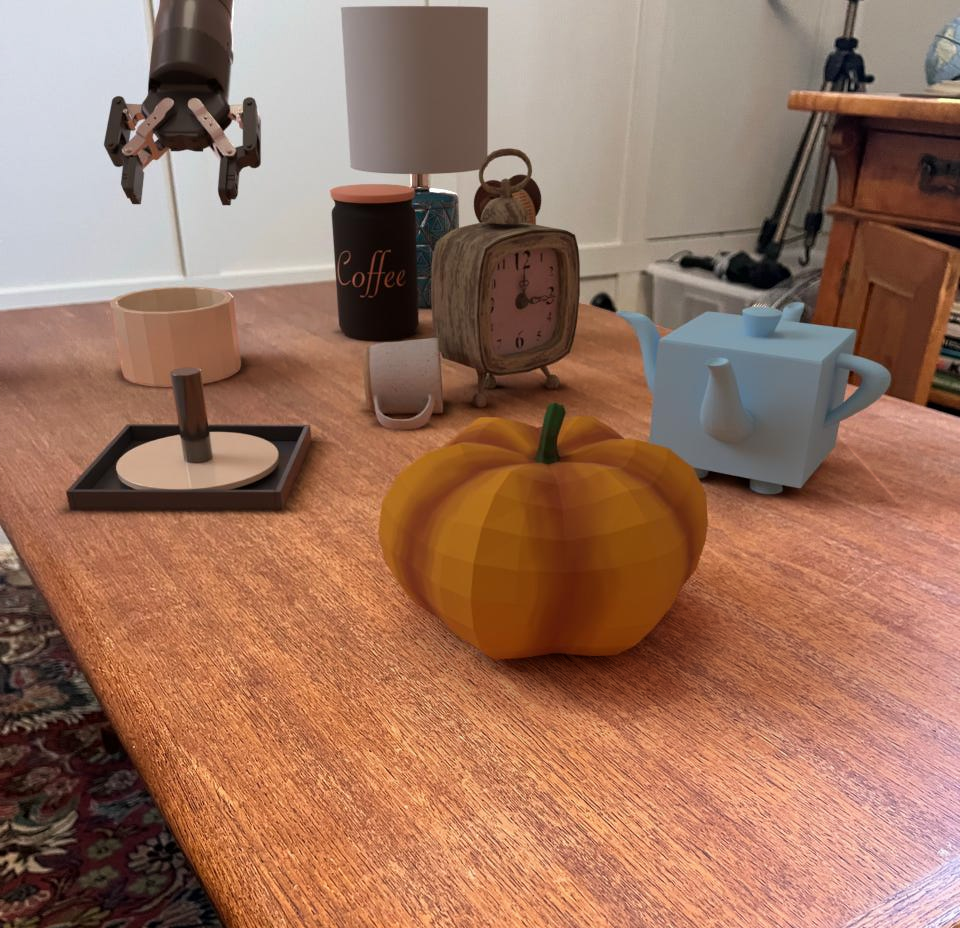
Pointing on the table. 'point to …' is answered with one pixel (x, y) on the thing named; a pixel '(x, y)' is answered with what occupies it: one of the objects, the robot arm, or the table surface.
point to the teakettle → (753, 392)
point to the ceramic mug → (403, 381)
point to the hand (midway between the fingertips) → (178, 199)
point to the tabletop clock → (505, 290)
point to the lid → (196, 449)
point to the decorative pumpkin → (545, 535)
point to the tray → (266, 494)
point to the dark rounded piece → (527, 196)
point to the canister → (176, 334)
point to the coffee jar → (375, 261)
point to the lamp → (418, 105)
